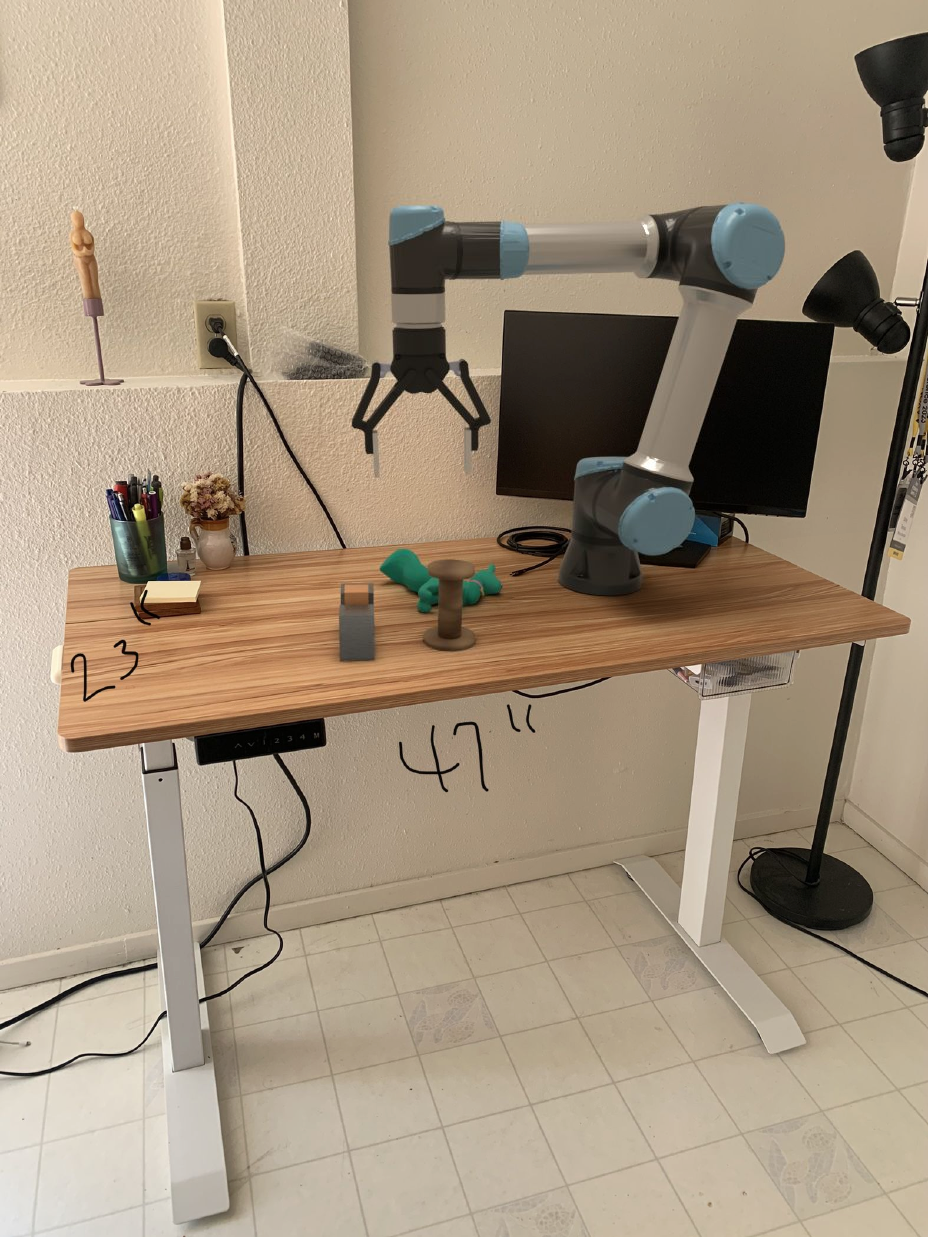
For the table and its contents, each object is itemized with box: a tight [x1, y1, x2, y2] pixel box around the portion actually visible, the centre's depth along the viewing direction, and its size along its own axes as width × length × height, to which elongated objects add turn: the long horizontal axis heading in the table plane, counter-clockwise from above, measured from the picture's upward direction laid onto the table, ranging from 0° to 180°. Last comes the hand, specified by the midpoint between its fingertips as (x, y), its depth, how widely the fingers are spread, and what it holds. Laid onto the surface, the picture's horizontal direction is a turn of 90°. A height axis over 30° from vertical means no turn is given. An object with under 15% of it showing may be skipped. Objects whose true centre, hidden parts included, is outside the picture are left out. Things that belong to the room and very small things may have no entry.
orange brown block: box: [344, 585, 368, 605], centre depth 139 cm, size 4×4×7 cm
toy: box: [379, 548, 503, 613], centre depth 161 cm, size 7×22×20 cm
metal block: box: [338, 582, 376, 662], centre depth 139 cm, size 5×14×7 cm, turn 6°
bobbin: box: [422, 558, 477, 652], centre depth 140 cm, size 8×8×12 cm
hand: (422, 474), depth 138 cm, fingers open, 13 cm apart
